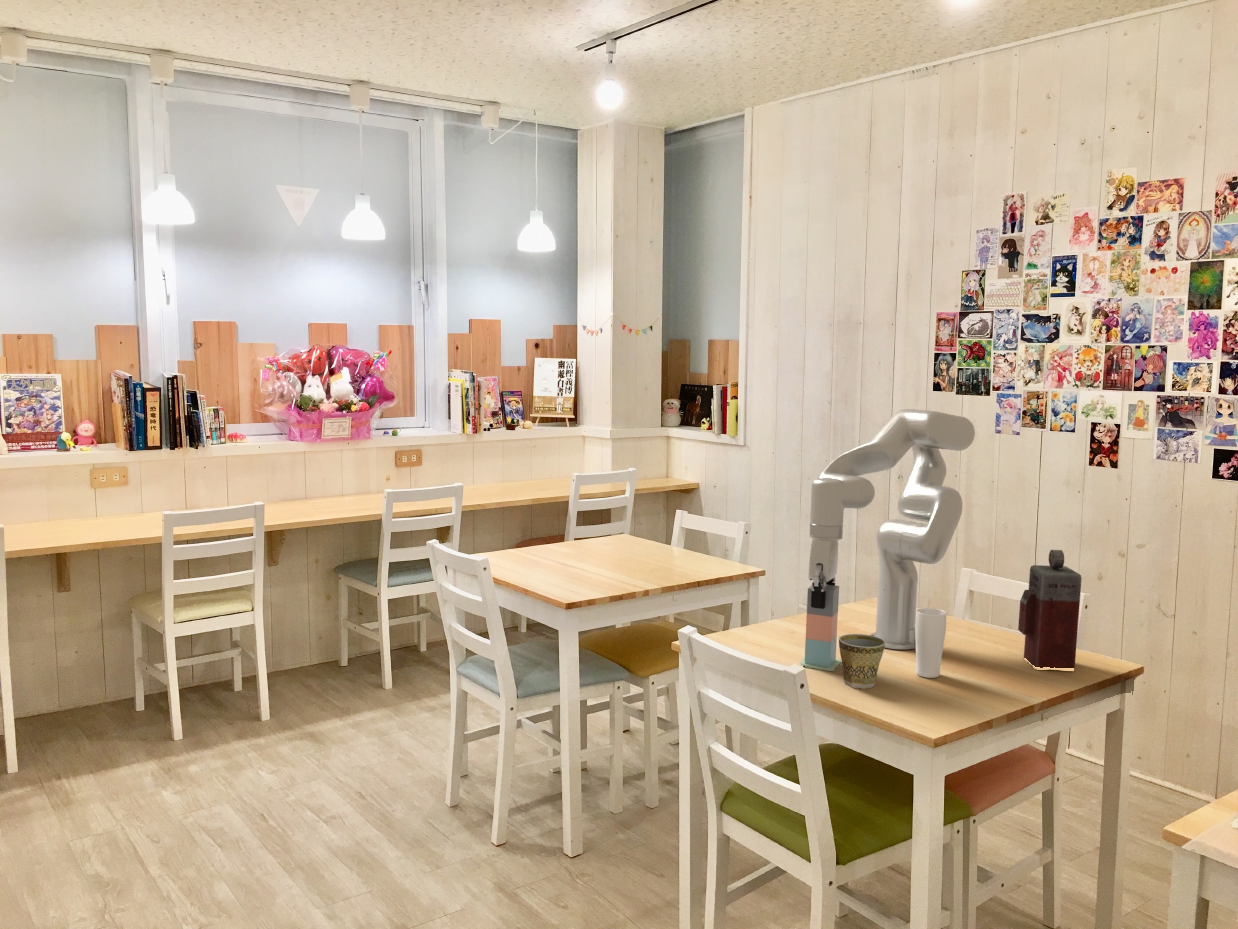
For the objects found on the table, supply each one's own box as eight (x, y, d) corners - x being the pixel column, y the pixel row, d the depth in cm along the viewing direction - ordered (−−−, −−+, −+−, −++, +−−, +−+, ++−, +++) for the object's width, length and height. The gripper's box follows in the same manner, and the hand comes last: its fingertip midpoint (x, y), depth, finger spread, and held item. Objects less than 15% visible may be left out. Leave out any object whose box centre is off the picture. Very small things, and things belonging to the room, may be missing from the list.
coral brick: (811, 632, 238) (812, 607, 237) (836, 635, 235) (837, 610, 235) (805, 638, 232) (806, 613, 232) (831, 642, 230) (832, 616, 229)
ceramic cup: (880, 694, 215) (882, 649, 214) (833, 688, 218) (835, 643, 217) (886, 676, 227) (888, 633, 226) (841, 670, 231) (843, 628, 229)
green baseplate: (840, 662, 237) (840, 659, 236) (833, 671, 229) (833, 669, 229) (807, 657, 240) (807, 654, 240) (799, 666, 233) (799, 664, 232)
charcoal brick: (812, 607, 237) (814, 583, 236) (838, 610, 234) (839, 586, 234) (806, 613, 232) (807, 588, 231) (832, 617, 229) (833, 591, 228)
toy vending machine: (1013, 658, 242) (1021, 545, 239) (1060, 659, 241) (1069, 546, 238) (1025, 670, 233) (1034, 553, 230) (1074, 671, 233) (1084, 554, 229)
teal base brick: (835, 660, 236) (836, 635, 235) (830, 667, 231) (831, 642, 230) (810, 656, 238) (811, 632, 238) (804, 663, 233) (805, 638, 232)
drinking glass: (927, 681, 224) (931, 616, 222) (906, 672, 230) (909, 609, 228) (949, 677, 227) (953, 613, 225) (927, 668, 233) (931, 606, 231)
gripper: (818, 523, 240) (815, 593, 242) (800, 535, 224) (797, 609, 226) (850, 526, 237) (846, 596, 239) (834, 539, 221) (830, 614, 223)
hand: (822, 603), depth 233 cm, fingers open, 9 cm apart
